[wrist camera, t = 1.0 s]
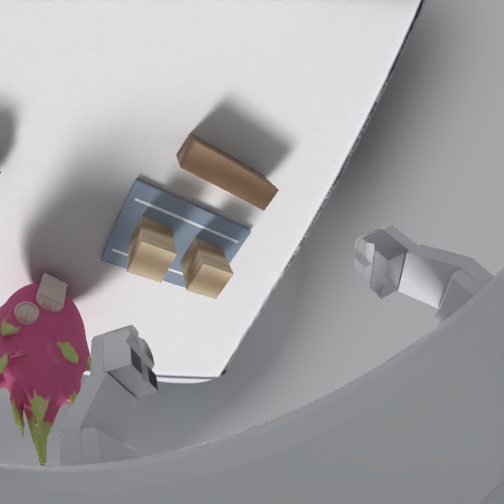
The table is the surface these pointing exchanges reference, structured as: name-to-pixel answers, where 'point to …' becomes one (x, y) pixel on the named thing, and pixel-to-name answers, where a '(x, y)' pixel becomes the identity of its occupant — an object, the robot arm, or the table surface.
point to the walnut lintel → (225, 172)
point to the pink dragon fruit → (41, 355)
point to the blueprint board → (179, 219)
